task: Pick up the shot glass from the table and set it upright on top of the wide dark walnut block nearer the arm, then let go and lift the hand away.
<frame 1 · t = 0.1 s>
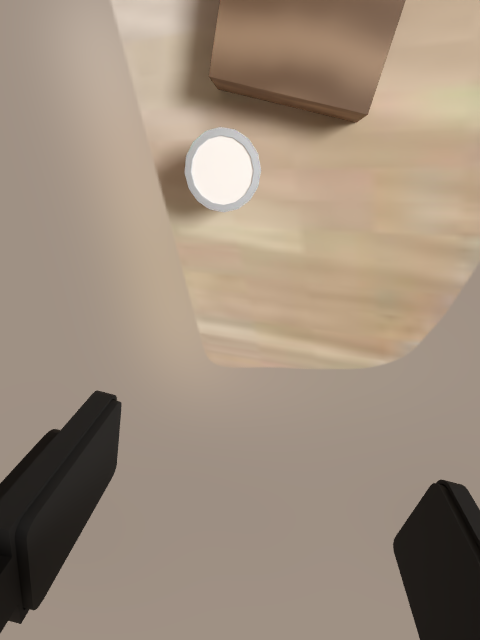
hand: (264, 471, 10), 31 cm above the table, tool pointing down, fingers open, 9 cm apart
walnut block: (308, 17, 29), on the table
shot glass: (233, 172, 35), on the table
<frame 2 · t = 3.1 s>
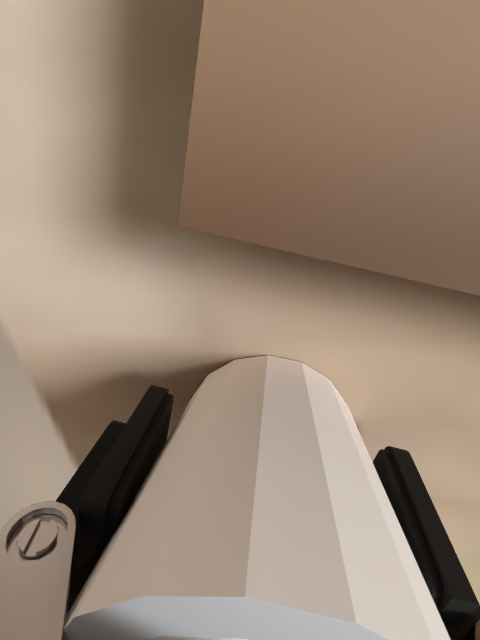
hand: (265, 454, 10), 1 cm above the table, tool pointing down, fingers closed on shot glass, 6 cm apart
shot glass: (267, 420, 12), on the table, touching gripper
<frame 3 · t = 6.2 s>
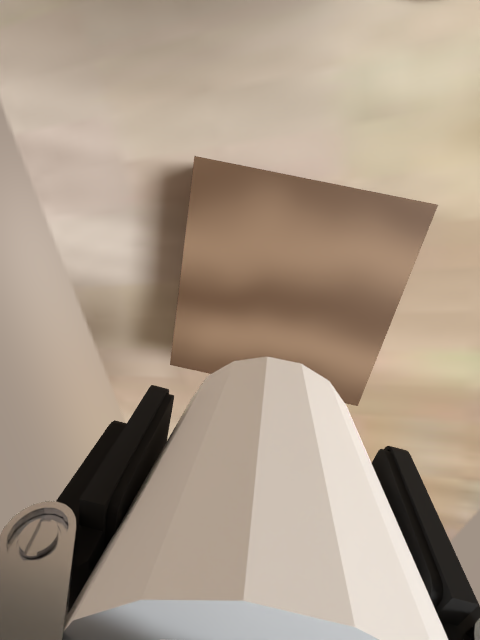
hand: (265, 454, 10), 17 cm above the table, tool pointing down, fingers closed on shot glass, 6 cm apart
walnut block: (284, 276, 26), on the table
shot glass: (267, 422, 12), point 15 cm above the table, touching gripper
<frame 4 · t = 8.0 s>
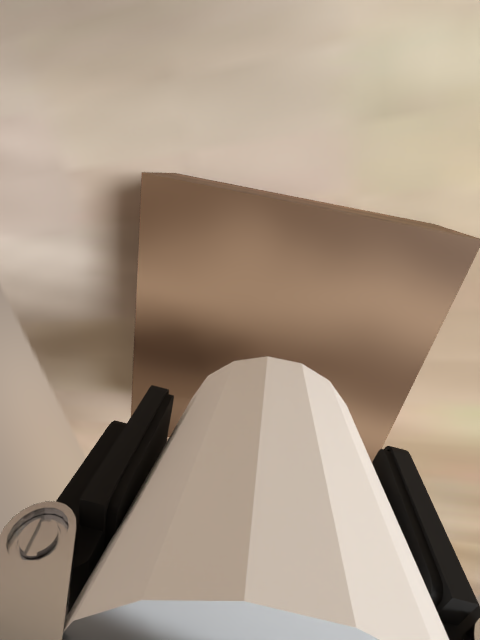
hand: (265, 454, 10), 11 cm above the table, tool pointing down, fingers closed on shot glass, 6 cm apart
walnut block: (274, 313, 21), on the table
shot glass: (267, 422, 12), point 9 cm above the table, touching gripper
when the fingers open (7 cm above the table, at t = 9.2 s): shot glass drops 2 cm, resting on walnut block.
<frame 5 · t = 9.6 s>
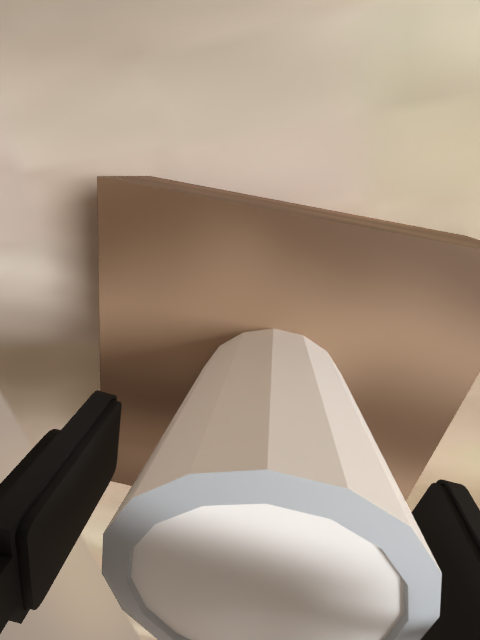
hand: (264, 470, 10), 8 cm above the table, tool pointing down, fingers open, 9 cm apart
walnut block: (272, 339, 18), on the table, touching shot glass
shot glass: (270, 389, 13), point 4 cm above the table, touching walnut block
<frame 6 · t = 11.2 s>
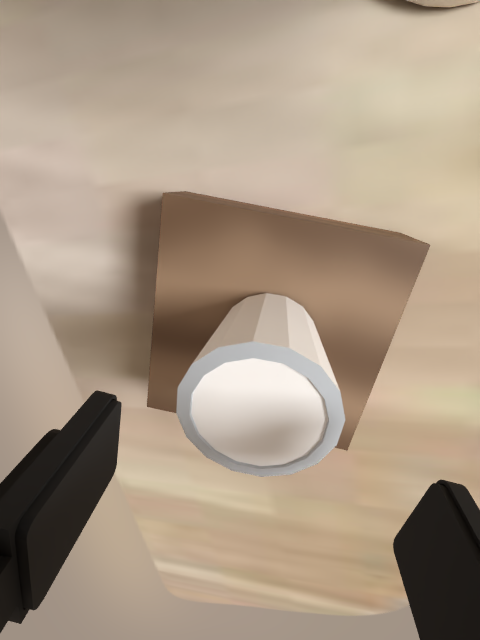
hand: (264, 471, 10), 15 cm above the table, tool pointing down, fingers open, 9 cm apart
walnut block: (269, 309, 24), on the table, touching shot glass
shot glass: (268, 336, 20), point 4 cm above the table, touching walnut block
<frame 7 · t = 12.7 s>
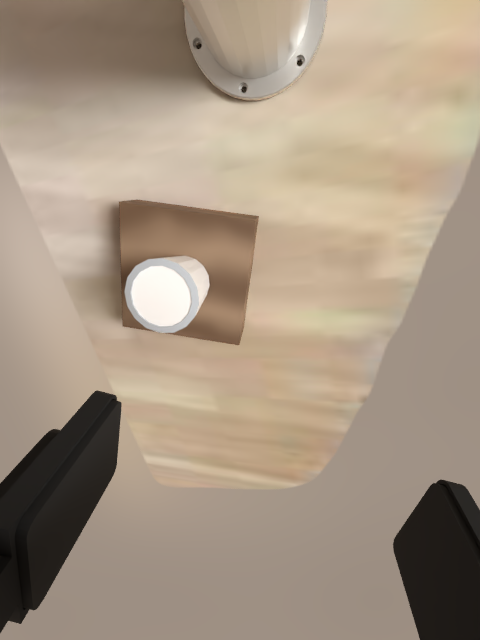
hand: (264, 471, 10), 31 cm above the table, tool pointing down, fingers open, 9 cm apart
walnut block: (194, 267, 40), on the table, touching shot glass
shot glass: (184, 281, 35), point 5 cm above the table, touching walnut block
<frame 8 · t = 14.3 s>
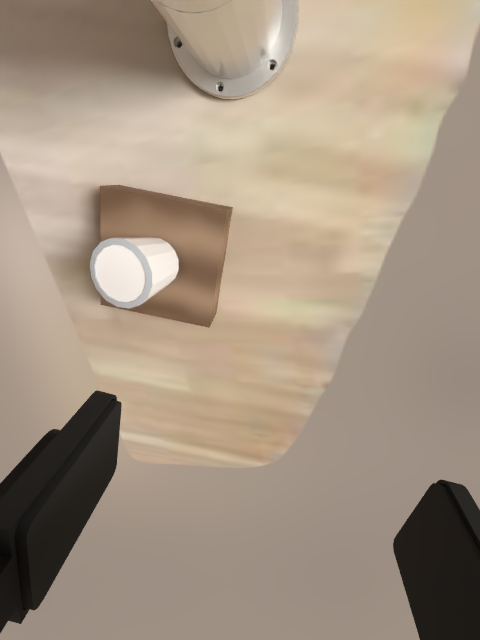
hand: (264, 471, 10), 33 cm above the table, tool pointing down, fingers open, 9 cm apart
walnut block: (171, 252, 42), on the table, touching shot glass
shot glass: (157, 262, 38), point 5 cm above the table, touching walnut block
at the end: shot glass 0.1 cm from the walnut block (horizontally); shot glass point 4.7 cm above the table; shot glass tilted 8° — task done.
